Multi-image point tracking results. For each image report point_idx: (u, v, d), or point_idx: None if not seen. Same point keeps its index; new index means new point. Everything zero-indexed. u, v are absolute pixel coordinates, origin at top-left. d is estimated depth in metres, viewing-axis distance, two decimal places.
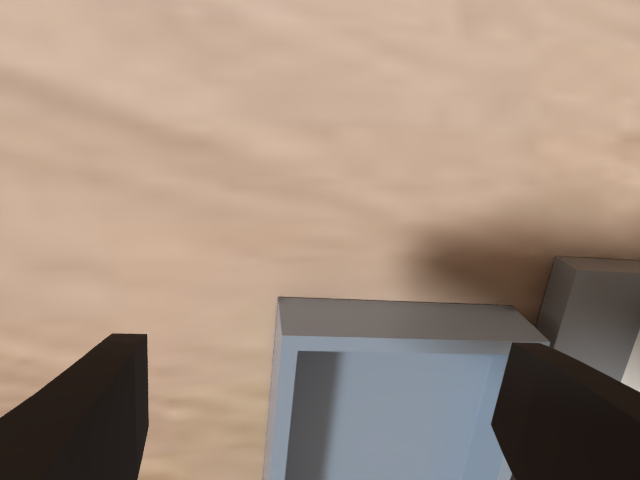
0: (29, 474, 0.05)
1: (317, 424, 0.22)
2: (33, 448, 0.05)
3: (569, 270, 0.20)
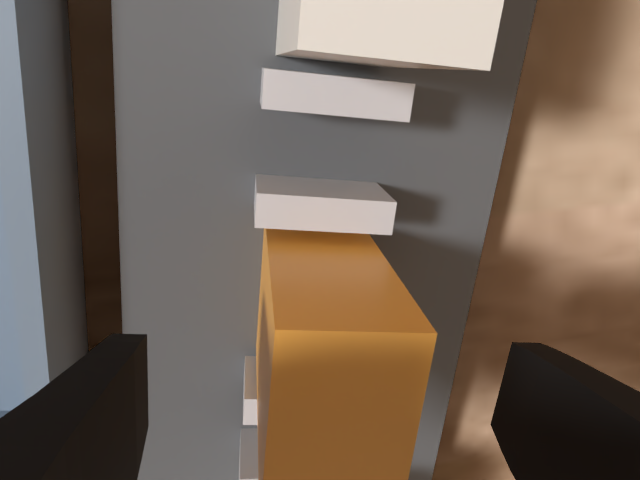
0: (29, 474, 0.05)
1: None
2: (33, 449, 0.05)
3: None
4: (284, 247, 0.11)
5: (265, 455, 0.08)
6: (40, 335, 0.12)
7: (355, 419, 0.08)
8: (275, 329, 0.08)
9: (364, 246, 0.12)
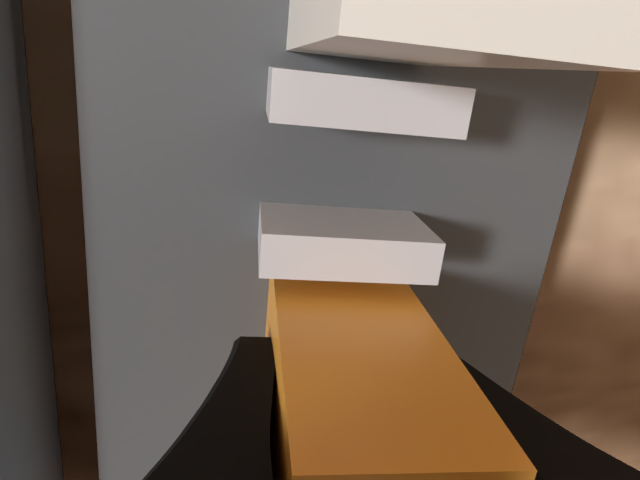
0: (260, 470, 0.05)
1: None
2: (245, 446, 0.06)
3: None
4: (299, 305, 0.08)
5: None
6: None
7: None
8: (292, 474, 0.05)
9: (401, 300, 0.09)
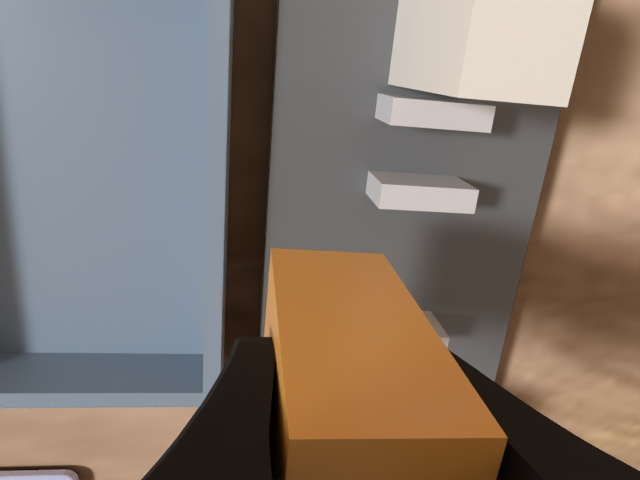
0: (260, 470, 0.05)
1: None
2: (244, 446, 0.06)
3: None
4: (296, 294, 0.09)
5: None
6: (219, 288, 0.16)
7: None
8: (290, 438, 0.05)
9: (392, 291, 0.10)
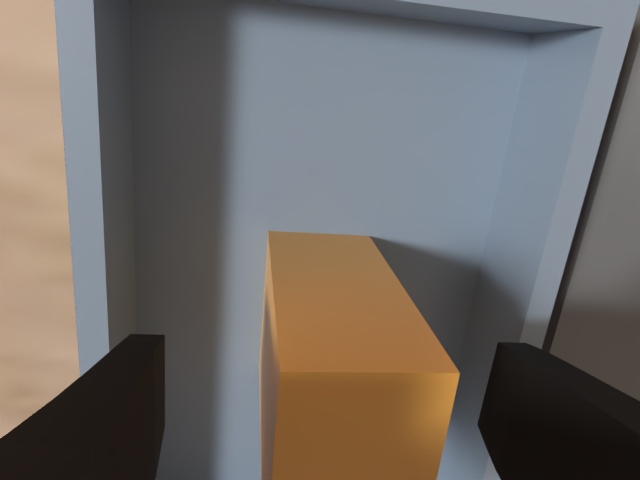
0: (63, 473, 0.05)
1: (200, 231, 0.12)
2: (63, 448, 0.05)
3: None
4: (289, 268, 0.10)
5: None
6: None
7: (369, 464, 0.08)
8: (280, 371, 0.07)
9: (374, 265, 0.11)
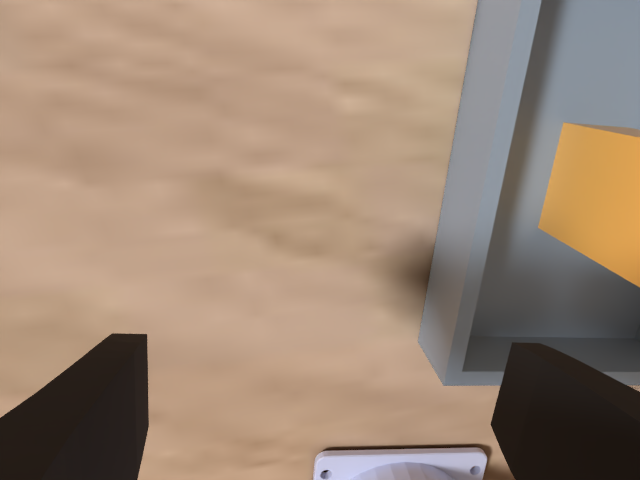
0: (29, 474, 0.05)
1: (520, 122, 0.18)
2: (33, 448, 0.05)
3: None
4: (617, 132, 0.16)
5: None
6: None
7: None
8: None
9: None
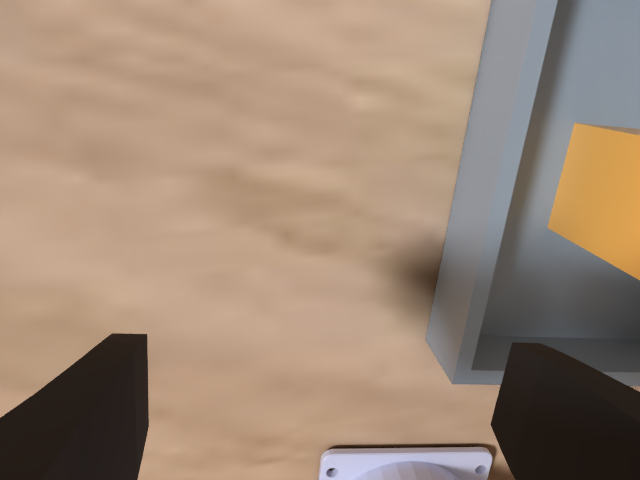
0: (29, 474, 0.05)
1: (532, 122, 0.18)
2: (33, 449, 0.05)
3: None
4: (630, 132, 0.16)
5: None
6: None
7: None
8: None
9: None
